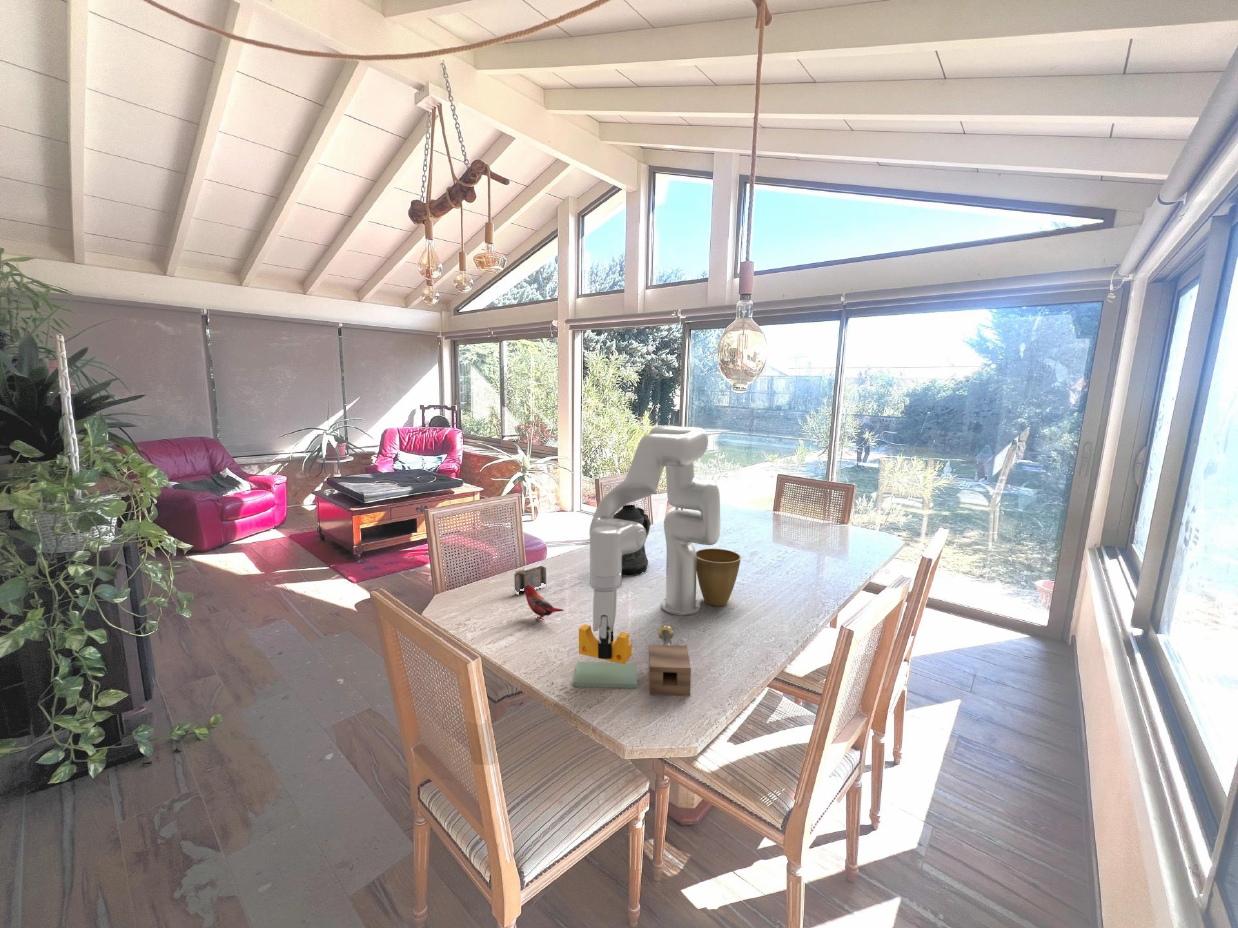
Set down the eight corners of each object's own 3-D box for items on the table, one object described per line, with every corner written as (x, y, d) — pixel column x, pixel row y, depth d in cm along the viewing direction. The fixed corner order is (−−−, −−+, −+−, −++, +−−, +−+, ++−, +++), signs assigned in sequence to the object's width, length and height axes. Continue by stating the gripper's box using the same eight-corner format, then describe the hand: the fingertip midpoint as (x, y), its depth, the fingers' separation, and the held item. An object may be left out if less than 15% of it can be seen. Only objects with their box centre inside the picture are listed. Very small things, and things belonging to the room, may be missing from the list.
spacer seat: (577, 665, 124) (577, 661, 123) (637, 666, 123) (637, 662, 123) (572, 685, 115) (572, 682, 115) (636, 687, 114) (636, 683, 114)
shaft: (658, 638, 133) (658, 624, 132) (672, 638, 133) (673, 625, 132) (660, 669, 118) (660, 654, 117) (676, 670, 118) (677, 654, 117)
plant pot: (740, 613, 153) (741, 563, 151) (692, 609, 156) (693, 560, 154) (738, 594, 167) (740, 549, 165) (694, 590, 170) (695, 546, 168)
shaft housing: (649, 670, 121) (649, 644, 120) (686, 671, 121) (686, 645, 120) (649, 694, 111) (649, 666, 110) (690, 695, 111) (690, 667, 110)
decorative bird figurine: (528, 611, 154) (527, 581, 153) (567, 628, 143) (567, 595, 142) (520, 614, 152) (519, 584, 151) (560, 632, 141) (559, 599, 139)
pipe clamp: (631, 655, 118) (631, 630, 117) (624, 664, 114) (624, 638, 113) (587, 645, 123) (587, 620, 122) (579, 653, 119) (578, 628, 118)
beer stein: (600, 573, 187) (599, 509, 184) (615, 557, 205) (615, 499, 202) (642, 578, 182) (642, 512, 179) (654, 561, 201) (654, 501, 197)
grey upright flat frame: (519, 597, 166) (519, 570, 165) (514, 595, 168) (514, 567, 167) (547, 588, 174) (546, 562, 172) (542, 586, 176) (541, 560, 175)
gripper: (593, 566, 124) (593, 634, 127) (585, 593, 107) (586, 670, 110) (623, 567, 124) (623, 634, 126) (620, 593, 107) (619, 671, 109)
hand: (605, 650), depth 118 cm, fingers closed on pipe clamp, 5 cm apart
